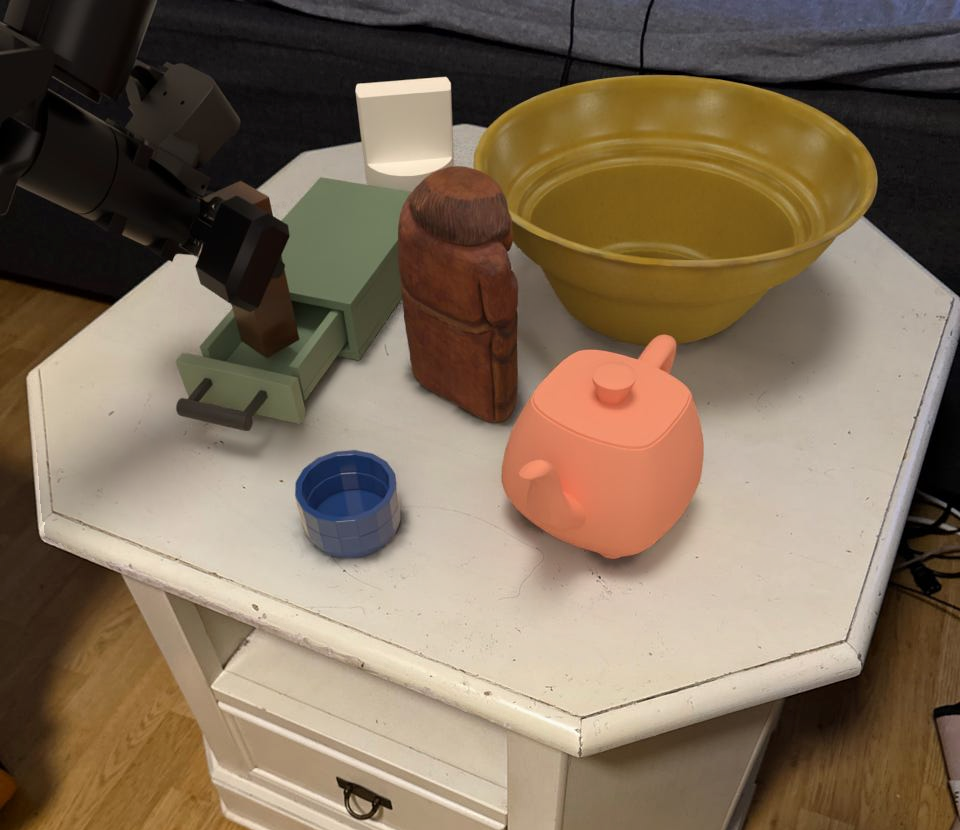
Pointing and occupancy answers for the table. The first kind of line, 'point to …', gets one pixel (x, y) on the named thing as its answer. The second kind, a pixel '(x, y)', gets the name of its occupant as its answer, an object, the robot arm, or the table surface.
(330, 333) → the drawer
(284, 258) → the cabinet
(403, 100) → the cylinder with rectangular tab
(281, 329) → the walnut block
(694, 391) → the table surface
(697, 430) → the teapot
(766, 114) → the planter bowl
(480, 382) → the wooden figurine
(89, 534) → the table surface
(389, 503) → the blue bowl
